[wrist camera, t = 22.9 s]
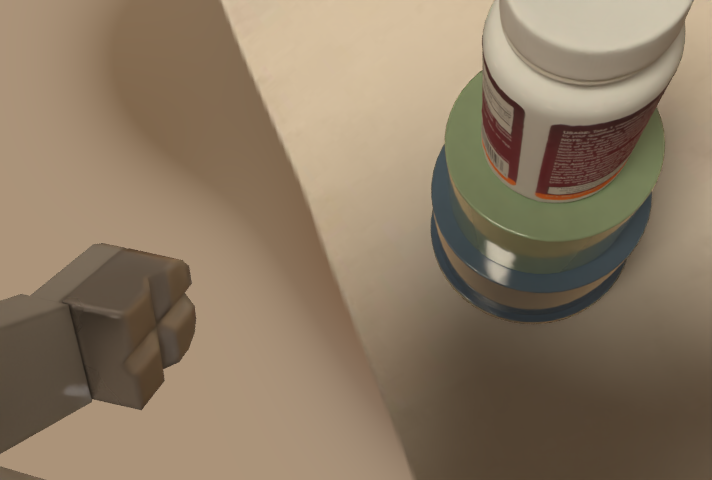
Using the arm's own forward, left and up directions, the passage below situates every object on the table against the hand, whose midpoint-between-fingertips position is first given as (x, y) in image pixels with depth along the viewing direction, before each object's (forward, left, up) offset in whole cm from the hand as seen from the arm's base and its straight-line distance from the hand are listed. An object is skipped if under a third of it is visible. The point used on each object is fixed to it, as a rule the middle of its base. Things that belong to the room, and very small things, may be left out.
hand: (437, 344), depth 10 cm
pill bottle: (+7, -6, -11) cm, 14 cm away
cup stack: (+7, -6, -21) cm, 23 cm away
